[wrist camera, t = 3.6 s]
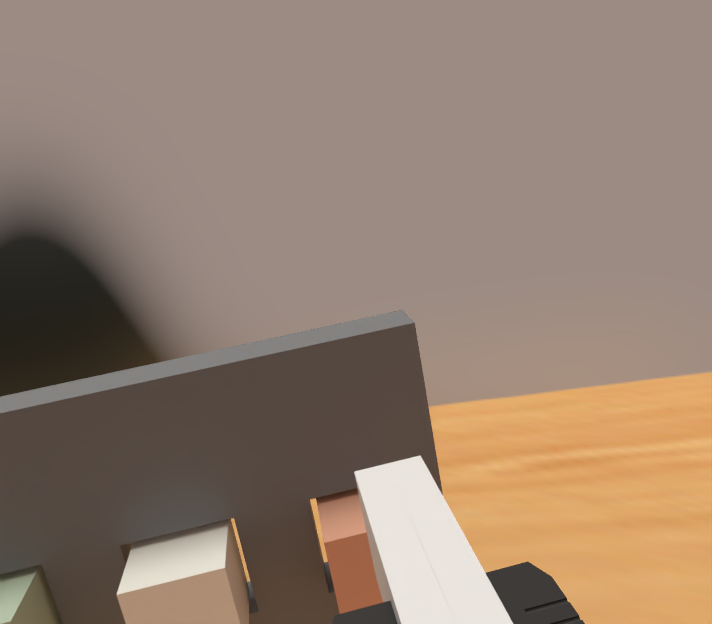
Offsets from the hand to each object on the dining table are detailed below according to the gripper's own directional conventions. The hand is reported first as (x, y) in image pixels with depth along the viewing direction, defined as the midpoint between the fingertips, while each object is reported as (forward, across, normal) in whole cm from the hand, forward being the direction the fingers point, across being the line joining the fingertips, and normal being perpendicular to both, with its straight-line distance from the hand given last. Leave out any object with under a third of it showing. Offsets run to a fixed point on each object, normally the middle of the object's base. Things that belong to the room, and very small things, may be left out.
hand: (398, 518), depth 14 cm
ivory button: (+9, -7, -8) cm, 14 cm away
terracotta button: (+9, 0, -8) cm, 12 cm away
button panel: (+14, -7, -16) cm, 23 cm away
